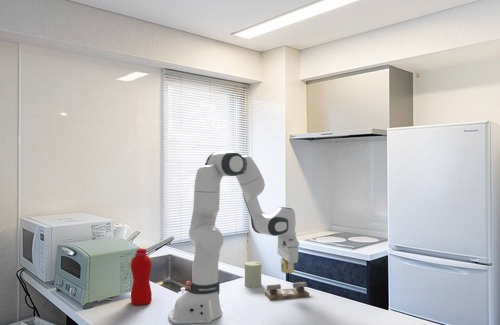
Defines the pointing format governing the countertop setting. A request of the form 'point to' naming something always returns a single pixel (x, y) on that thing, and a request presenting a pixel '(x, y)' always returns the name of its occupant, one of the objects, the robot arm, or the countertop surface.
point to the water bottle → (141, 278)
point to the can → (252, 274)
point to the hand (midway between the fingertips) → (287, 268)
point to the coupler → (284, 266)
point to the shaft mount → (286, 291)
